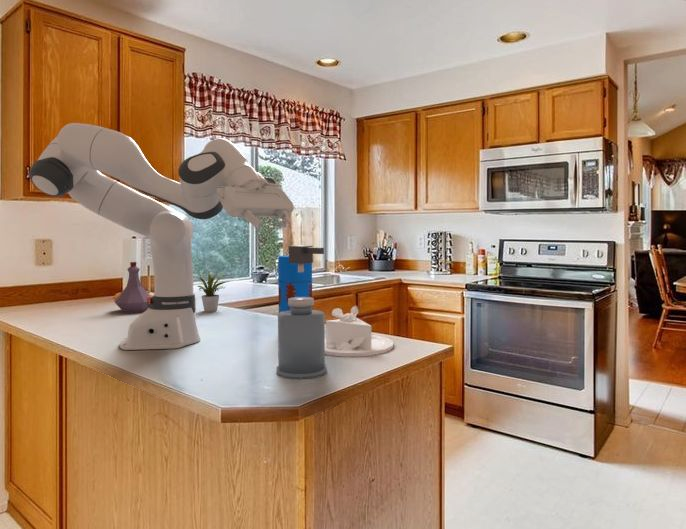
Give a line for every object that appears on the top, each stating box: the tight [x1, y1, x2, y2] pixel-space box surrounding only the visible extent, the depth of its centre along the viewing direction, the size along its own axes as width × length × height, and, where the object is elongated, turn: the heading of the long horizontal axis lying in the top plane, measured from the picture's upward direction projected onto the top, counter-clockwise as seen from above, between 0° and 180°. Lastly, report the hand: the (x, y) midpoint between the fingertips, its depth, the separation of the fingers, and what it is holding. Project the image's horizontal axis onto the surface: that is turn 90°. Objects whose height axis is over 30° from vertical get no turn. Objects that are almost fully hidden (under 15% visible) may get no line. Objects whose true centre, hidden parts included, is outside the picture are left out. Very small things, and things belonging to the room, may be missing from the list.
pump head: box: [288, 244, 325, 272], centre depth 118 cm, size 8×4×6 cm, turn 52°
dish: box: [325, 305, 395, 357], centre depth 147 cm, size 25×25×11 cm
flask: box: [114, 261, 152, 314], centre depth 208 cm, size 16×16×20 cm
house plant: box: [196, 271, 230, 313], centre depth 206 cm, size 14×14×16 cm
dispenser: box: [275, 297, 328, 380], centre depth 120 cm, size 12×12×18 cm
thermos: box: [277, 254, 313, 313], centre depth 164 cm, size 11×11×25 cm
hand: (274, 225), depth 123 cm, fingers open, 8 cm apart
